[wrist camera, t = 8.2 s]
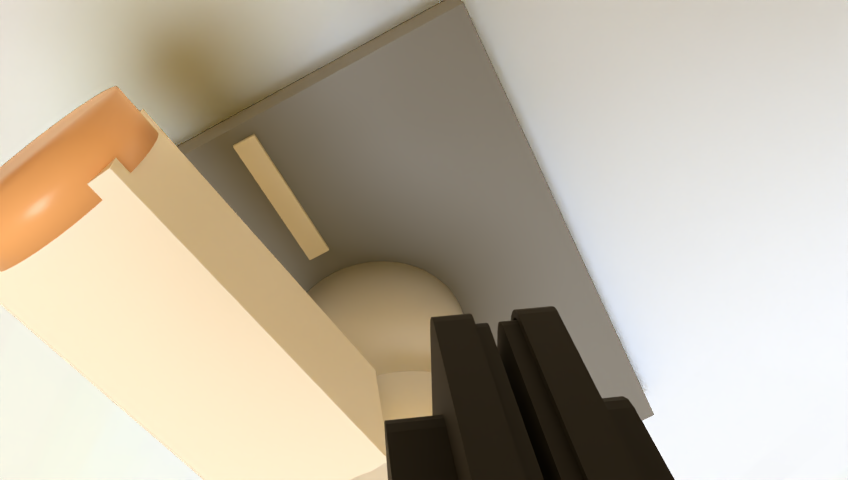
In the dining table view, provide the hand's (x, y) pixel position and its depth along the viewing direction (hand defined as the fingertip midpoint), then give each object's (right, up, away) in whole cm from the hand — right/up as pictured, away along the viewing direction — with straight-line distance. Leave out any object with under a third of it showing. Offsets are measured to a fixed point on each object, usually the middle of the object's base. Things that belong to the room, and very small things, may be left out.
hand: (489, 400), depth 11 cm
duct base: (-3, -1, +21) cm, 21 cm away
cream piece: (-4, -2, +11) cm, 12 cm away
